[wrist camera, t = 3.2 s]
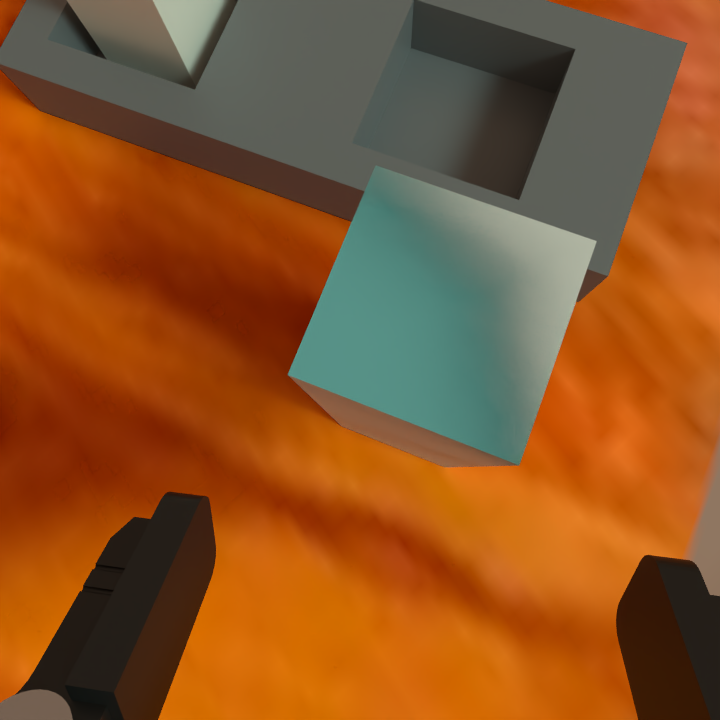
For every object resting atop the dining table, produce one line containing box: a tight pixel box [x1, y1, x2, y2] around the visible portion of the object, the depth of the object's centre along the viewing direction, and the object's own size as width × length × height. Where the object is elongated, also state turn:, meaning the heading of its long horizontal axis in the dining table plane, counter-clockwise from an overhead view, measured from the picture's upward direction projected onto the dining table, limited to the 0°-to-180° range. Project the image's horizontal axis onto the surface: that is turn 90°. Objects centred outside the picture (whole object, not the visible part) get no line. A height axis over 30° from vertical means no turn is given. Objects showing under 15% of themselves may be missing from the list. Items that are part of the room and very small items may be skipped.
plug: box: [288, 166, 597, 467], centre depth 16 cm, size 4×4×12 cm
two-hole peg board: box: [0, 0, 687, 302], centre depth 19 cm, size 23×9×10 cm, turn 68°
